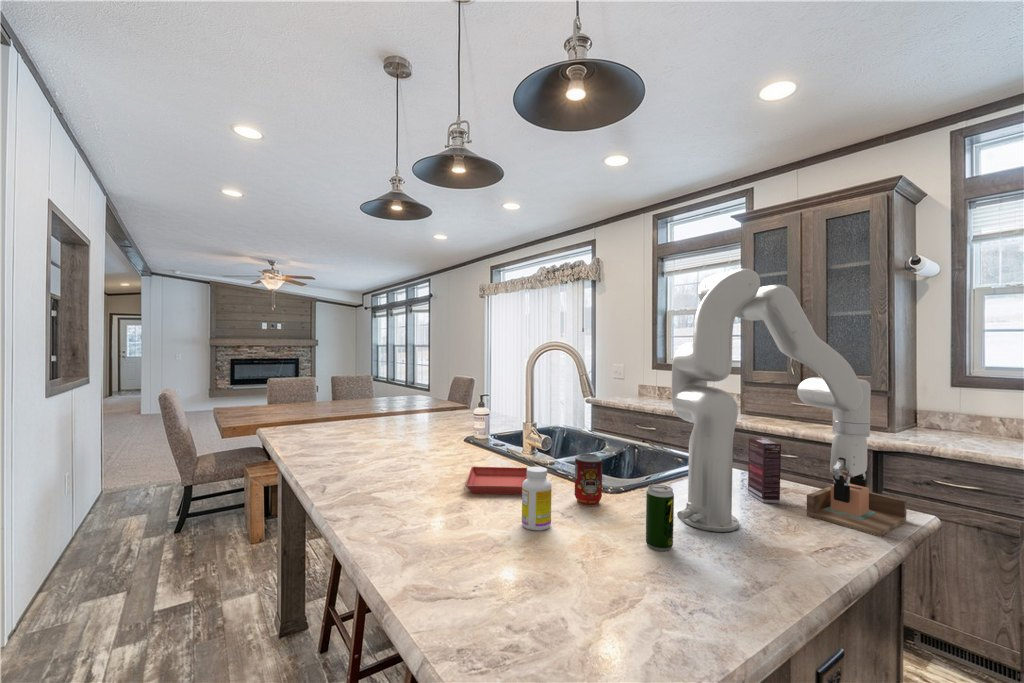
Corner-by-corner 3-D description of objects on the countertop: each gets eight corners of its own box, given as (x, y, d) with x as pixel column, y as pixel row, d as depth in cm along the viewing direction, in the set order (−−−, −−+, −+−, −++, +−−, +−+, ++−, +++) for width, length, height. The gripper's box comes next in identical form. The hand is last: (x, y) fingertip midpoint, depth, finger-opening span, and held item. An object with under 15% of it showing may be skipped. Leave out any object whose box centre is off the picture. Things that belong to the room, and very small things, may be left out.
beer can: (645, 549, 93) (646, 490, 94) (645, 539, 99) (646, 482, 99) (673, 553, 92) (674, 493, 92) (672, 542, 97) (673, 485, 97)
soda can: (579, 507, 117) (580, 459, 117) (571, 498, 124) (571, 452, 124) (605, 506, 118) (606, 458, 118) (596, 497, 125) (597, 452, 125)
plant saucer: (531, 498, 125) (531, 485, 125) (464, 496, 125) (465, 484, 125) (529, 478, 143) (529, 467, 143) (471, 477, 143) (471, 466, 143)
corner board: (880, 536, 102) (881, 514, 102) (806, 515, 114) (806, 494, 114) (906, 520, 112) (906, 500, 112) (835, 502, 124) (835, 484, 124)
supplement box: (781, 503, 123) (782, 443, 123) (762, 503, 123) (763, 443, 123) (764, 493, 131) (765, 437, 131) (746, 492, 131) (747, 436, 131)
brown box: (830, 509, 115) (831, 484, 115) (840, 505, 119) (840, 481, 119) (859, 517, 110) (859, 491, 110) (868, 512, 114) (869, 487, 114)
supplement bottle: (555, 523, 106) (556, 467, 106) (544, 533, 100) (545, 474, 100) (528, 518, 109) (529, 463, 109) (516, 528, 103) (517, 470, 103)
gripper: (847, 423, 123) (846, 487, 123) (818, 429, 113) (817, 499, 113) (882, 427, 117) (881, 495, 117) (854, 434, 107) (853, 508, 107)
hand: (849, 497), depth 115 cm, fingers open, 9 cm apart
